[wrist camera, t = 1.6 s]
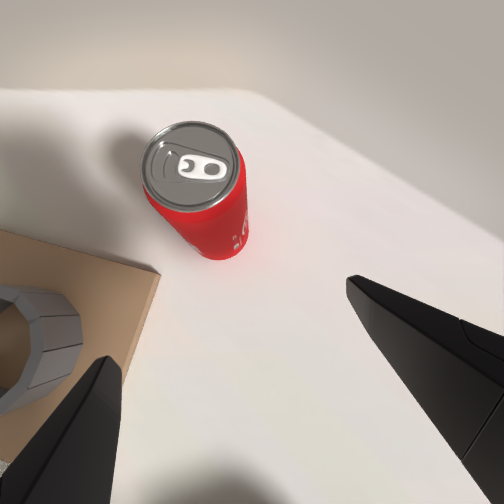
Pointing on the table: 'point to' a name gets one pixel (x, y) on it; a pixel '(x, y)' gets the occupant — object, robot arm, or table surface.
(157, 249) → the table surface
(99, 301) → the square cardboard coaster
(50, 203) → the table surface
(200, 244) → the beverage can
